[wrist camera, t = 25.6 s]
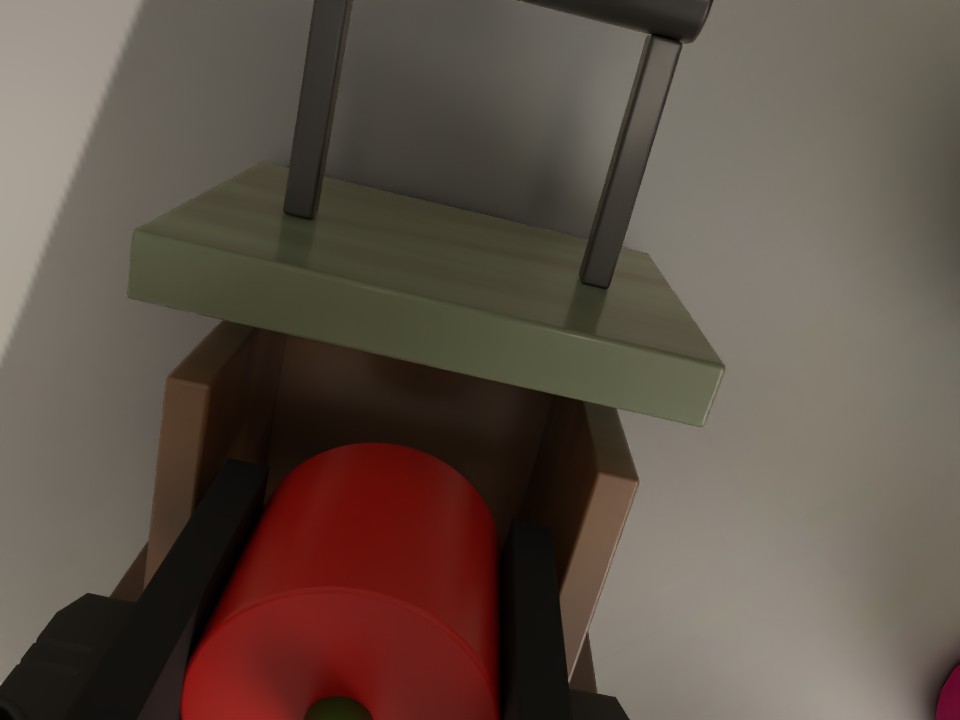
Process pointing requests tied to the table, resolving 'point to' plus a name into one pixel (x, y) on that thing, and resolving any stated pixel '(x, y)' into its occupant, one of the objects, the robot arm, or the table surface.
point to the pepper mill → (950, 698)
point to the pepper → (358, 599)
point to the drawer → (428, 326)
